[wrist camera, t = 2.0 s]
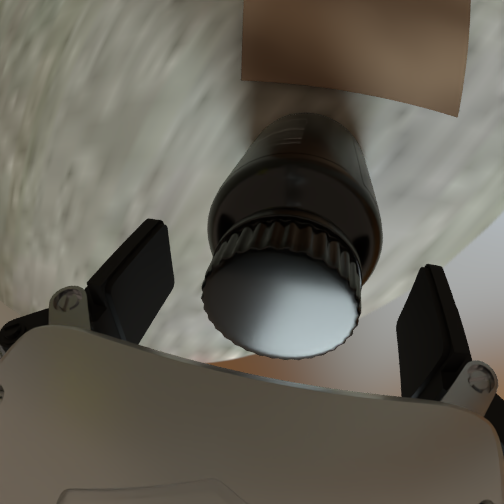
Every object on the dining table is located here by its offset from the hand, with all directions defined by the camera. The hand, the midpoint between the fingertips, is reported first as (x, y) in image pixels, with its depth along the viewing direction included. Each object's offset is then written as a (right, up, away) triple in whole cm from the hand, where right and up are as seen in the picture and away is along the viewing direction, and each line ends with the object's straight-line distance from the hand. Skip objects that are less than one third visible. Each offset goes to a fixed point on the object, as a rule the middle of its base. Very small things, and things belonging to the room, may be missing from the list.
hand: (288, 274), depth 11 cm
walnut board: (+4, +15, 0) cm, 16 cm away
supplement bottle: (+2, +6, +7) cm, 10 cm away
